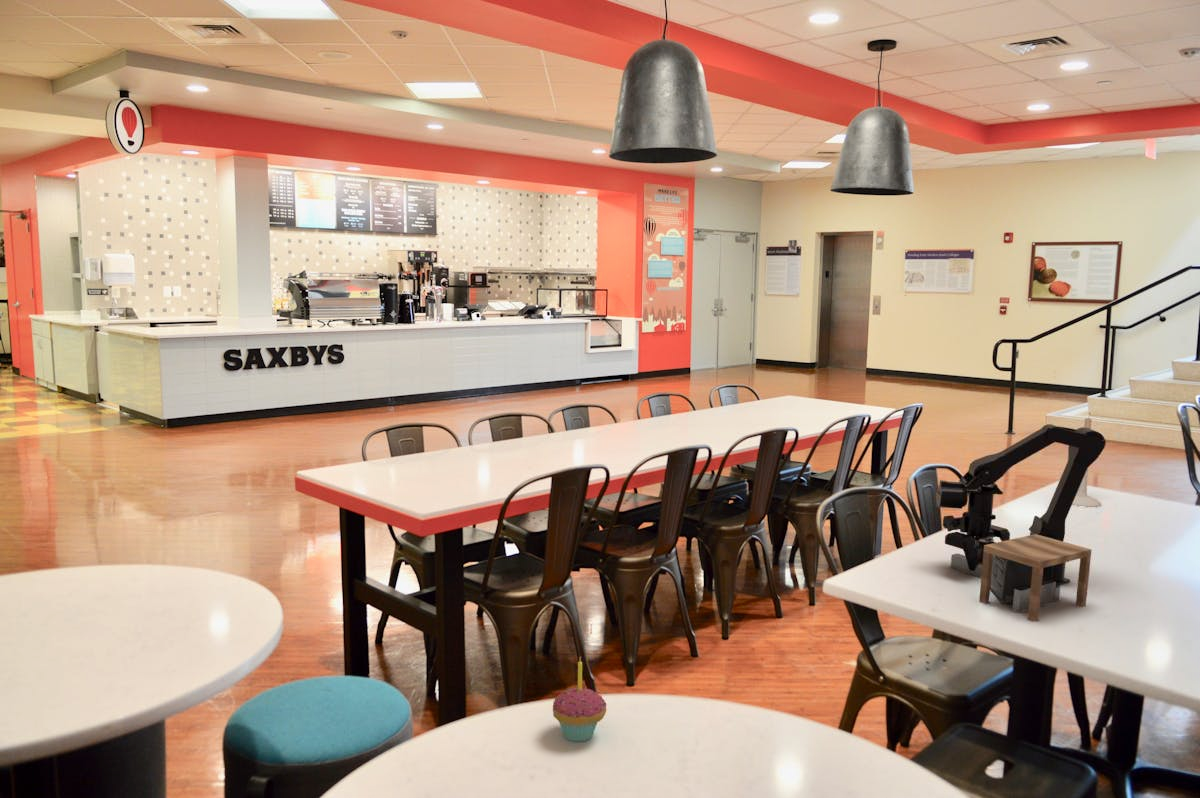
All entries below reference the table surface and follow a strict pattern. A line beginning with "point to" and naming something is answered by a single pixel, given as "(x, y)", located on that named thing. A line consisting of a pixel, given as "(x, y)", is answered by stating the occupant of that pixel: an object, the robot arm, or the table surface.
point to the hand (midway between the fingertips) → (975, 569)
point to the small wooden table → (1036, 565)
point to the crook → (1021, 594)
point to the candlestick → (1085, 486)
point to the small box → (1008, 578)
